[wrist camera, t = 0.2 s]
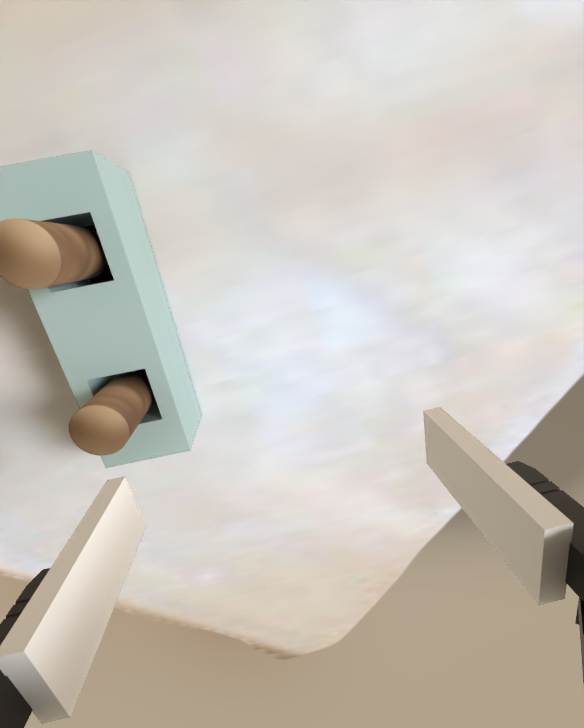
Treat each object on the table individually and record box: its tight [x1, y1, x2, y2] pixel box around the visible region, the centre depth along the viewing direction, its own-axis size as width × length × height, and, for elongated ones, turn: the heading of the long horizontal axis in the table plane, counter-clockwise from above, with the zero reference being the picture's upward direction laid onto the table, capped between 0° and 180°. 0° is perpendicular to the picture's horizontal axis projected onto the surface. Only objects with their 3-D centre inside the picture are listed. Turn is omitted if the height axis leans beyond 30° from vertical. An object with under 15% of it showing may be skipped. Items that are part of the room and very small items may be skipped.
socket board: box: [0, 150, 202, 468], centre depth 35 cm, size 28×9×8 cm, turn 10°
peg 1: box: [0, 218, 108, 289], centre depth 27 cm, size 5×5×8 cm
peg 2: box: [69, 371, 155, 455], centre depth 32 cm, size 5×5×8 cm
